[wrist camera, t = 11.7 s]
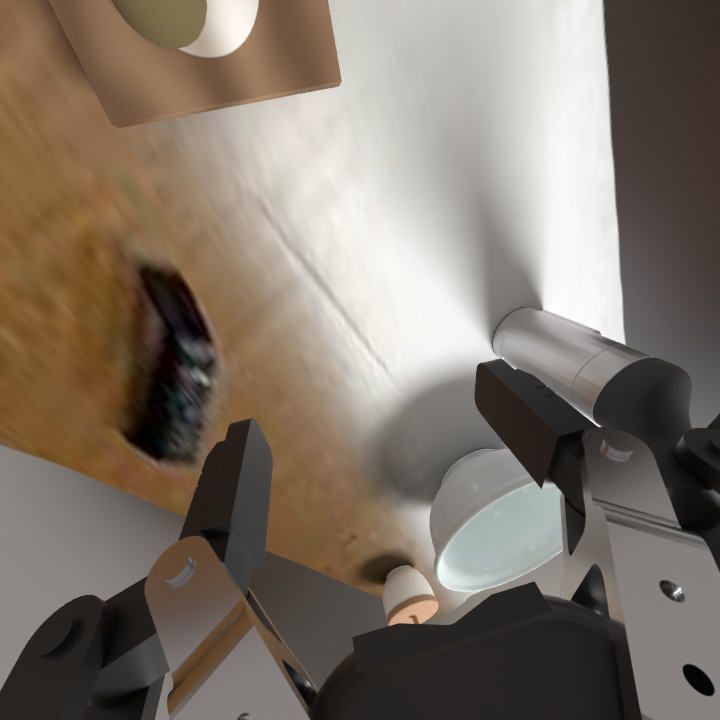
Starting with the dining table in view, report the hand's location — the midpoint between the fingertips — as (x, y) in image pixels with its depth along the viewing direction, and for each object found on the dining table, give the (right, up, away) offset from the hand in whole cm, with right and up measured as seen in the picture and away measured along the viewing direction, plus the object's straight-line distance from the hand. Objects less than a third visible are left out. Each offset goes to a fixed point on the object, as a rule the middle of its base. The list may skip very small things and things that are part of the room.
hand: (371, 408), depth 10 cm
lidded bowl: (+10, -54, +65) cm, 85 cm away
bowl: (+24, -23, +52) cm, 62 cm away
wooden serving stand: (-13, +30, +12) cm, 35 cm away
